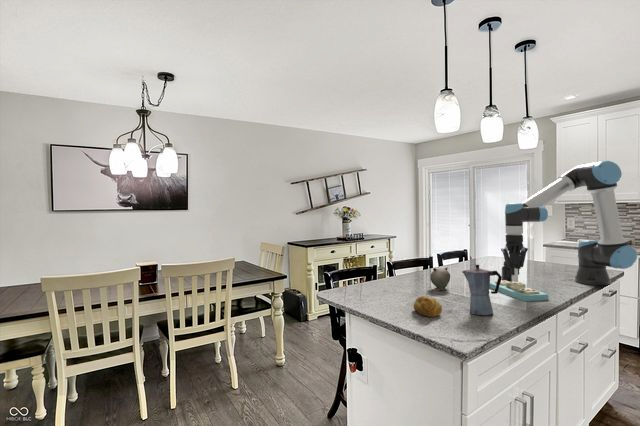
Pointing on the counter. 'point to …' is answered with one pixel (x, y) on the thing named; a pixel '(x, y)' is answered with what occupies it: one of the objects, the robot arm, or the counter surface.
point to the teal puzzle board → (520, 295)
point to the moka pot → (481, 290)
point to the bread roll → (427, 306)
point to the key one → (502, 283)
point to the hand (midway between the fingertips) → (514, 281)
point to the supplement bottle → (506, 273)
